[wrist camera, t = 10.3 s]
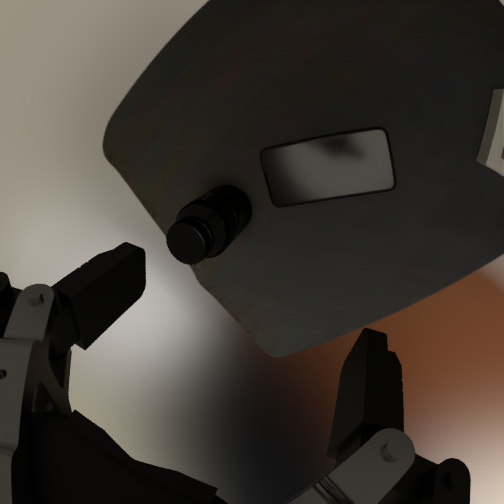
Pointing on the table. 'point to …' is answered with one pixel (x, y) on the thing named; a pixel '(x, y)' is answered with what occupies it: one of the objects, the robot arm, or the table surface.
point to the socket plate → (494, 135)
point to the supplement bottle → (208, 224)
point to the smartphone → (329, 167)
